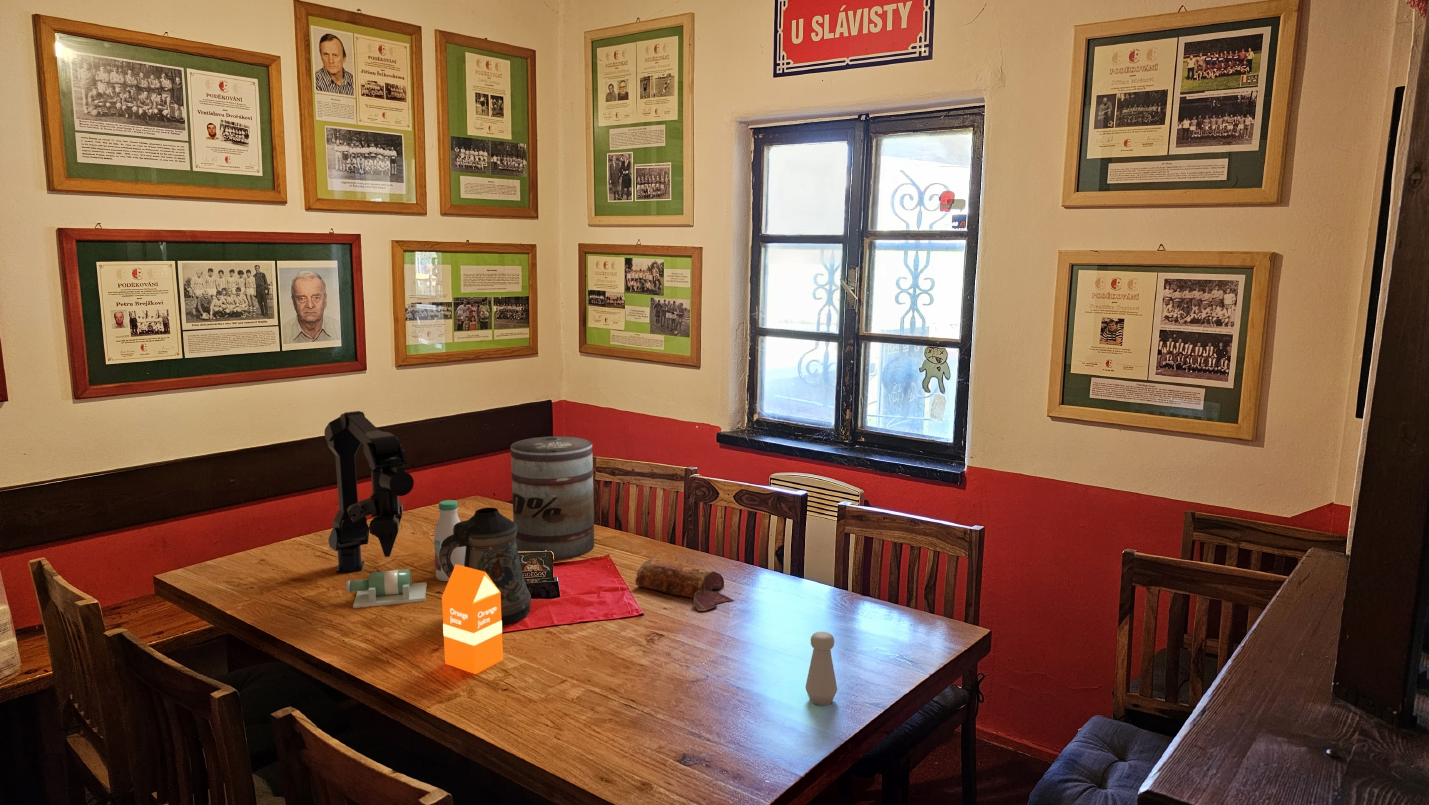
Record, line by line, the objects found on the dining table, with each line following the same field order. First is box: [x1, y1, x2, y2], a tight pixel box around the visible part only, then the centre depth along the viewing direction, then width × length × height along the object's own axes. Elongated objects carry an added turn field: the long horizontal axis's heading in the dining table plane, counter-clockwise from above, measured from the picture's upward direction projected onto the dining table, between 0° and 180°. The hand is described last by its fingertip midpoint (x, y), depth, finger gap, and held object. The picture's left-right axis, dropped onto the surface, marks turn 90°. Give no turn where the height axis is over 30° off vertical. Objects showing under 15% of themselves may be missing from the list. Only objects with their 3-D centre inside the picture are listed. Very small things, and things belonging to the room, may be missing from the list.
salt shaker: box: [805, 631, 838, 707], centre depth 163 cm, size 6×6×13 cm
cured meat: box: [634, 557, 734, 612], centre depth 217 cm, size 18×25×7 cm
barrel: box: [510, 436, 595, 561], centre depth 249 cm, size 22×22×30 cm
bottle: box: [345, 568, 411, 596], centre depth 213 cm, size 14×6×6 cm, turn 106°
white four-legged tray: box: [352, 571, 427, 609], centre depth 215 cm, size 16×11×4 cm
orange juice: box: [441, 564, 504, 675], centre depth 178 cm, size 8×9×20 cm
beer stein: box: [439, 507, 532, 627], centre depth 201 cm, size 16×19×25 cm
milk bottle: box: [433, 499, 466, 582], centre depth 227 cm, size 8×8×20 cm
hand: (388, 550), depth 213 cm, fingers open, 9 cm apart
